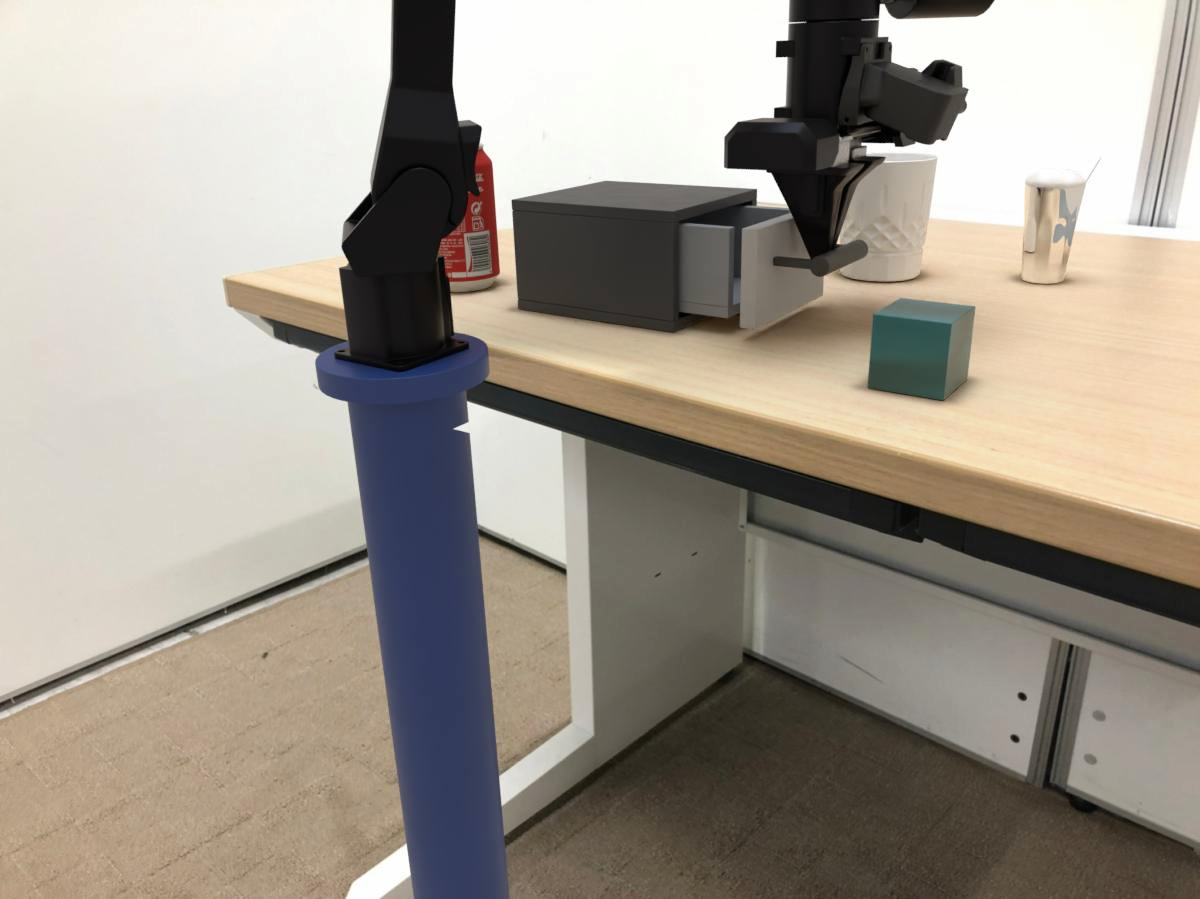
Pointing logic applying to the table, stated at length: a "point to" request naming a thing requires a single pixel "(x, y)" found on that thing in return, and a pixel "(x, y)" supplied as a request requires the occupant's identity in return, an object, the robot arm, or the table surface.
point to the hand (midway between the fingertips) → (821, 262)
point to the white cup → (891, 217)
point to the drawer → (752, 264)
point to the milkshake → (1050, 222)
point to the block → (920, 347)
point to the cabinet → (610, 250)
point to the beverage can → (474, 236)
